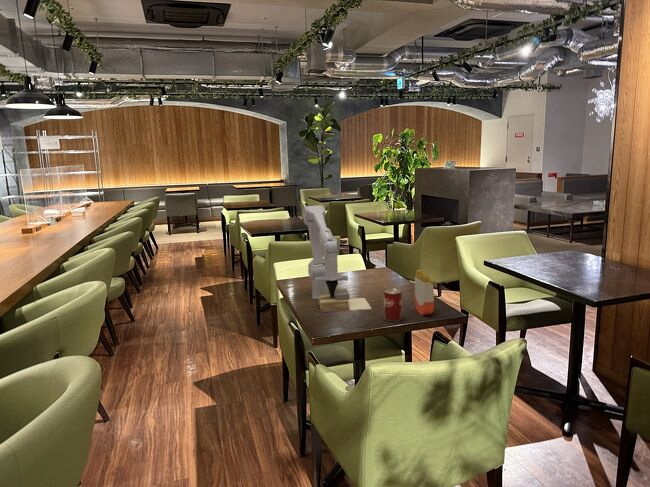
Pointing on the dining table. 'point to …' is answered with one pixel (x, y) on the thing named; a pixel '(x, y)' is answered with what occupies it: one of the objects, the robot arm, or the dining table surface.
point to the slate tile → (341, 294)
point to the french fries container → (424, 293)
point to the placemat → (358, 304)
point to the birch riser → (331, 303)
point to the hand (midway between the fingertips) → (332, 296)
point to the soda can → (392, 305)
